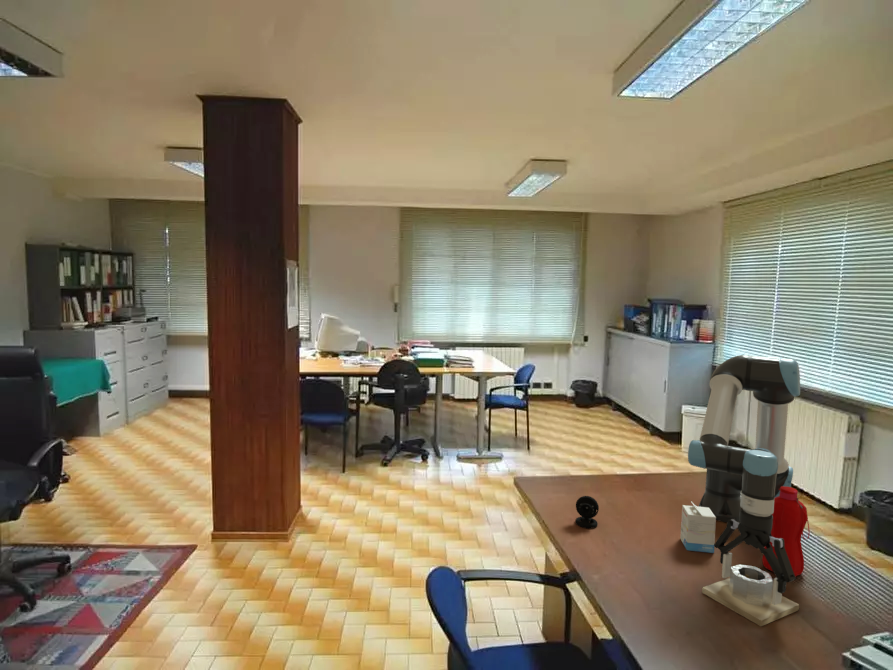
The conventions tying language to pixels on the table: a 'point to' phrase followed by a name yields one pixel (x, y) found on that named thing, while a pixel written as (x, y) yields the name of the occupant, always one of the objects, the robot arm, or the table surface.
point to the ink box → (698, 528)
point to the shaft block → (749, 611)
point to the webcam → (587, 512)
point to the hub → (751, 586)
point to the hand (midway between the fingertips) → (750, 589)
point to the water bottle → (789, 527)
